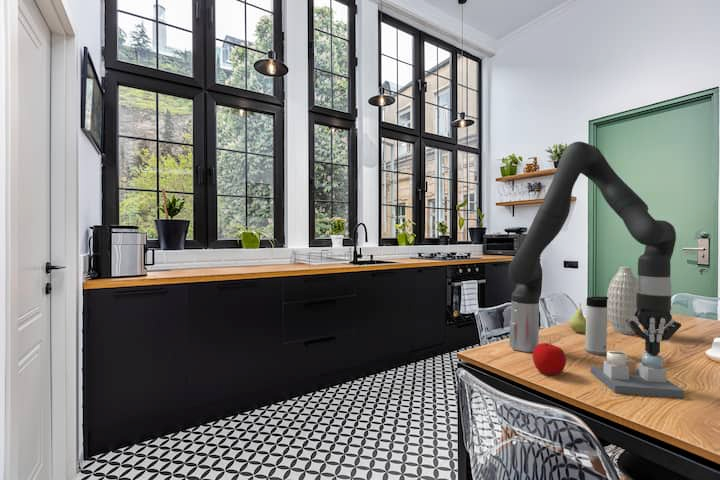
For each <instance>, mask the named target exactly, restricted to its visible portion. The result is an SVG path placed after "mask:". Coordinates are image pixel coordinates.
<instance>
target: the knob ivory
mask: <svg viewBox="0 0 720 480" xmlns="http://www.w3.org/2000/svg"><path fill="white" fill-rule="evenodd" d="M626 355H627V354H626V353H624V352H621V351H616V350H607V354H606V361H607V363H608V364H610V365H613V366H618V367H625V366H626Z"/></svg>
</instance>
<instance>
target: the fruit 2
mask: <svg viewBox="0 0 720 480" xmlns="http://www.w3.org/2000/svg"><path fill="white" fill-rule="evenodd" d="M569 327H570V328H571V330H573V331H574V332H575V333H577V334H583V333H586V317H585V316H584V313H583V309H582V304H581V303H579V308H578V309H577V310H576V312H575V314H574V315H573V316H572V317H571V319H570V320H569Z"/></svg>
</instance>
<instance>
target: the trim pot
mask: <svg viewBox="0 0 720 480" xmlns="http://www.w3.org/2000/svg"><path fill="white" fill-rule="evenodd" d="M630 357H631V356H630V355H628V354H626V366H628V367H629V373H630V374H636V369H637V367H636V365H637V364H636V360H633V359H632V358H630Z"/></svg>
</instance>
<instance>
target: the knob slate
mask: <svg viewBox="0 0 720 480" xmlns="http://www.w3.org/2000/svg"><path fill="white" fill-rule="evenodd" d="M641 363H642V365H643V366H645V367H648V368H653V369H662V367H663V364H664V363H663V355H659V354H658V355H657V356H655V355H650V354H648V353H647V352H642V353H641Z"/></svg>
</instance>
